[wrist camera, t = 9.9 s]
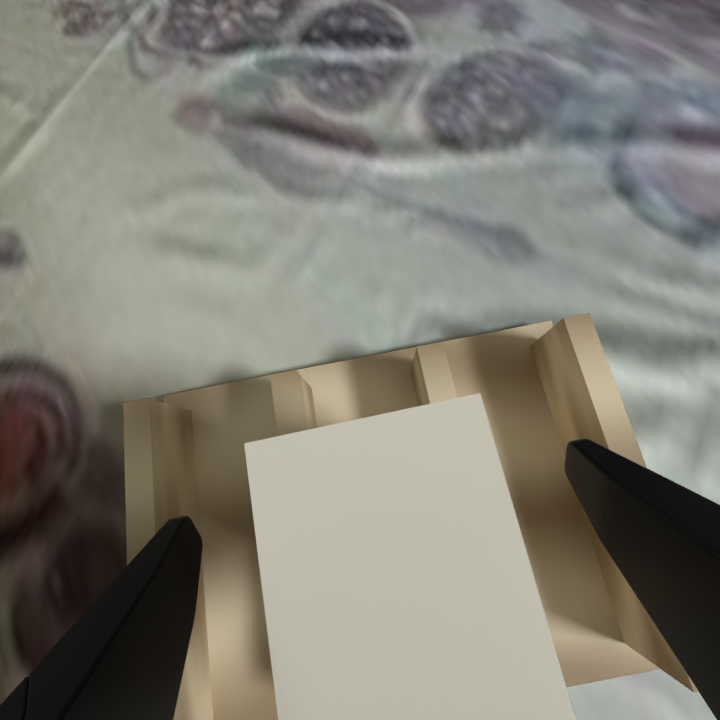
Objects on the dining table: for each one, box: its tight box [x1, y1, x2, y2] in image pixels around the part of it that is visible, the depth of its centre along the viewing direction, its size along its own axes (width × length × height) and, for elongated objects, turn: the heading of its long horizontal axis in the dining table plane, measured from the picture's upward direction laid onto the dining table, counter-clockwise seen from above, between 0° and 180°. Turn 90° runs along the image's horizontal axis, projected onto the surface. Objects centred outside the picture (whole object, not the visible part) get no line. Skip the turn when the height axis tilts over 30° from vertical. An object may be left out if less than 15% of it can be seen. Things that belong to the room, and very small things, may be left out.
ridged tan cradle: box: [123, 313, 698, 720], centre depth 16 cm, size 14×18×4 cm
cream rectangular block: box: [244, 393, 576, 720], centre depth 11 cm, size 5×3×13 cm, turn 11°
